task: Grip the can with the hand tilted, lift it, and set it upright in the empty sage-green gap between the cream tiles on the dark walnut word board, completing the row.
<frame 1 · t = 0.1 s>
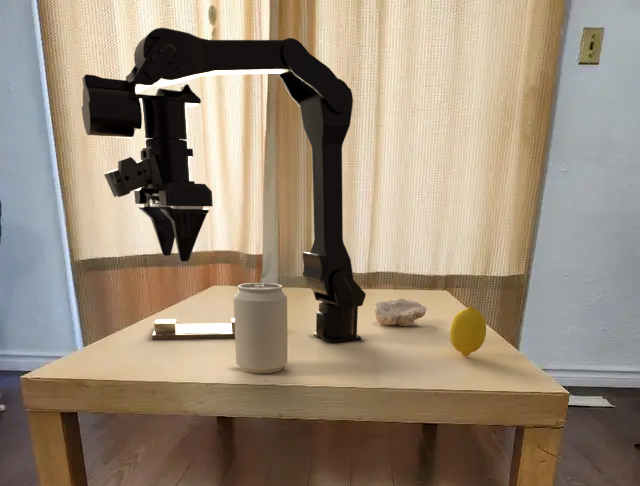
hand: (175, 258, 85), 15 cm above the table, tool pointing down, fingers open, 9 cm apart
whitish grey lumpy stone: (398, 324, 116), on the table
word board: (216, 332, 105), on the table
lemon: (465, 357, 92), on the table
can: (262, 369, 84), on the table
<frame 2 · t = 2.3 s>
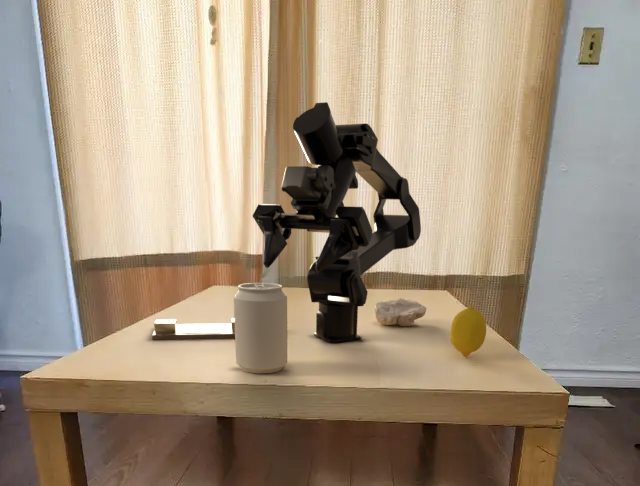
hand: (290, 268, 86), 14 cm above the table, tool tilted 45°, fingers open, 9 cm apart
nothing on the table moved.
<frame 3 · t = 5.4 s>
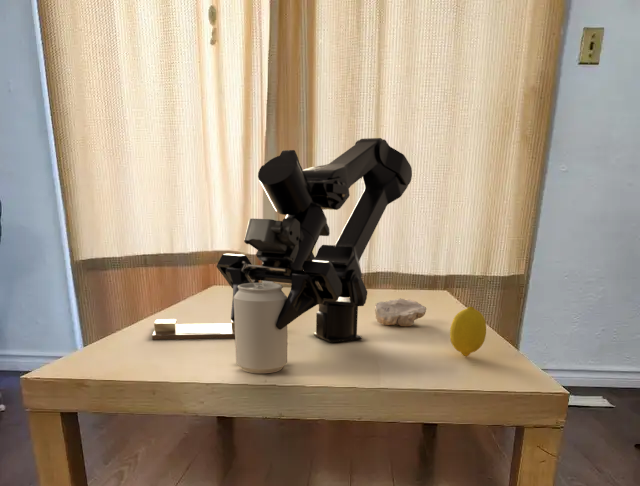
hand: (255, 324, 81), 7 cm above the table, tool tilted 45°, fingers closed on can, 7 cm apart
can: (261, 369, 84), on the table, touching gripper
everything else where it was.
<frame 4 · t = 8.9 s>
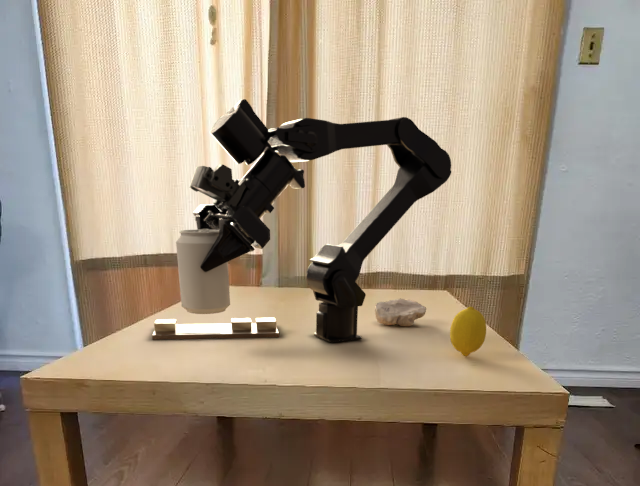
hand: (194, 267, 87), 13 cm above the table, tool tilted 45°, fingers closed on can, 7 cm apart
can: (206, 311, 90), point 6 cm above the table, touching gripper
everything else where it was.
when the fingers open (8 cm above the table, at t = 12.8 s): can stays where it is, resting on word board.
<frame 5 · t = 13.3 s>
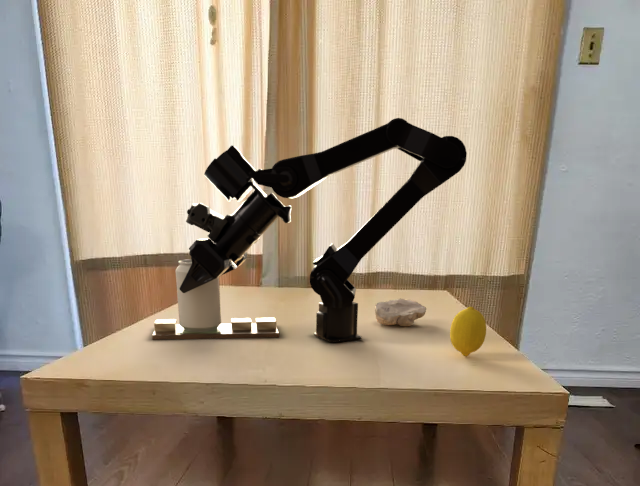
hand: (189, 287, 102), 8 cm above the table, tool tilted 45°, fingers open, 9 cm apart
can: (200, 329, 105), point 1 cm above the table, touching word board
everything else where it was.
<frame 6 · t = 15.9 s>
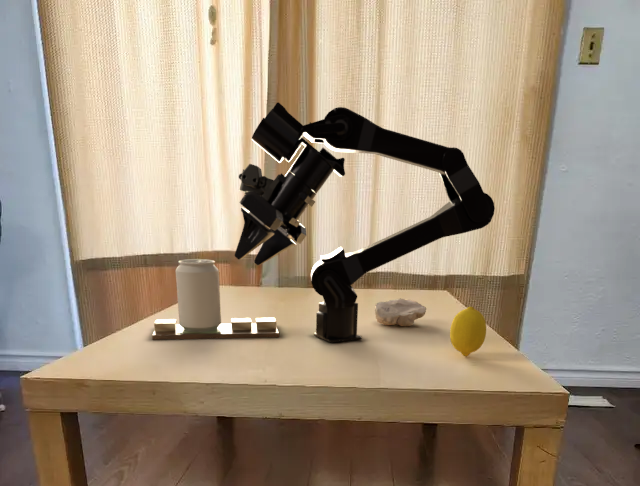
hand: (246, 261, 98), 13 cm above the table, tool tilted 35°, fingers open, 9 cm apart
nothing on the table moved.
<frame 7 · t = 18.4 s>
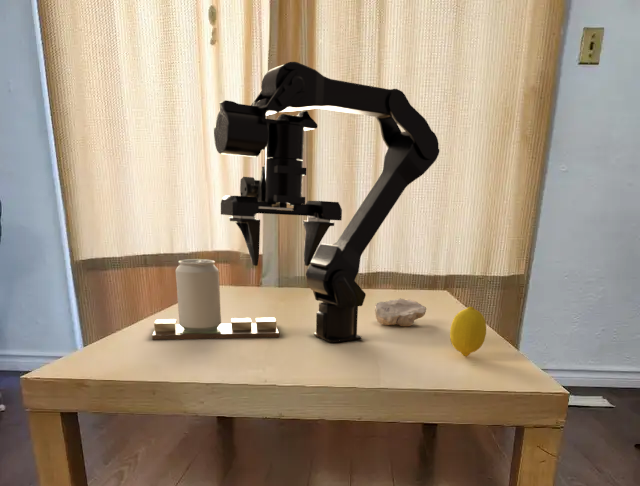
hand: (281, 265, 93), 13 cm above the table, tool pointing down, fingers open, 9 cm apart
nothing on the table moved.
at the end: can 0.1 cm from the target spot on the word board, point 0.7 cm above the word board's base; can tilted 0° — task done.
